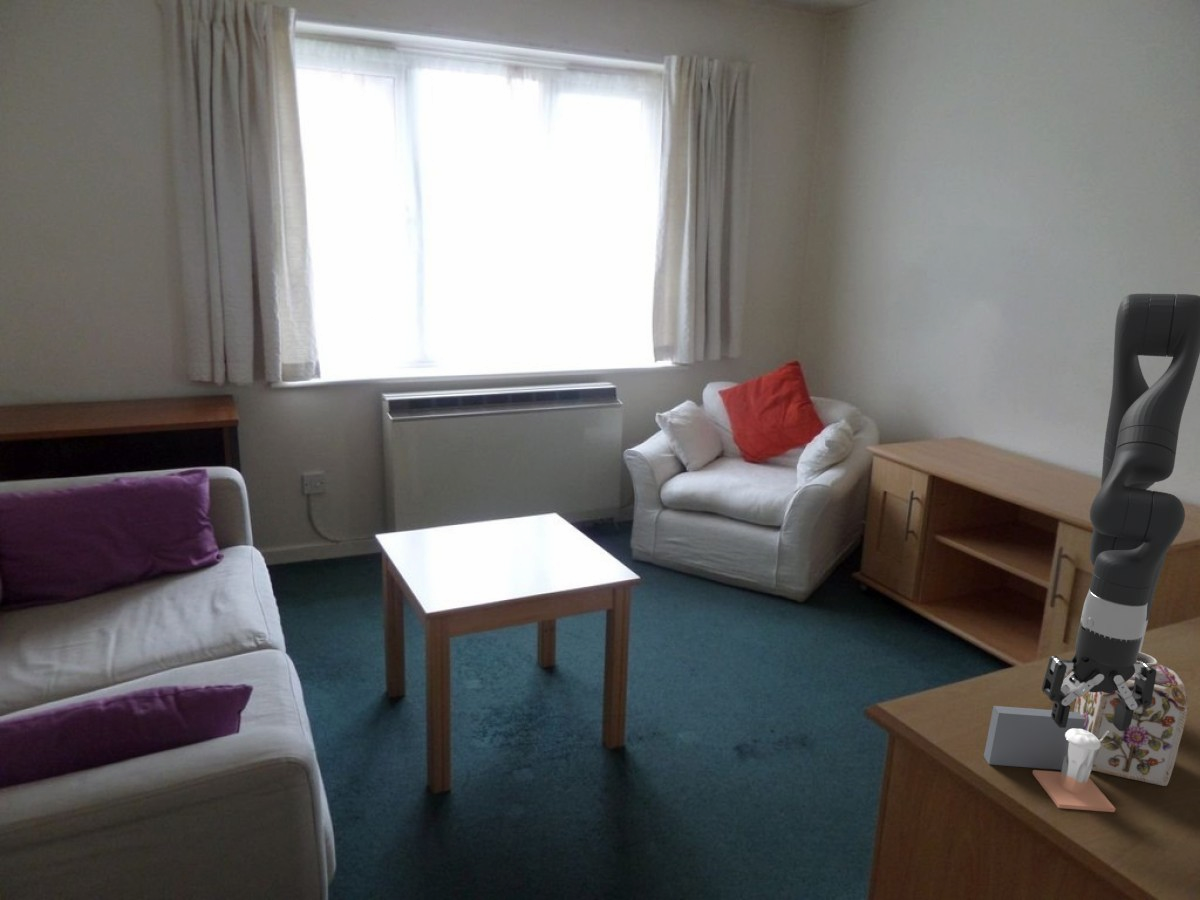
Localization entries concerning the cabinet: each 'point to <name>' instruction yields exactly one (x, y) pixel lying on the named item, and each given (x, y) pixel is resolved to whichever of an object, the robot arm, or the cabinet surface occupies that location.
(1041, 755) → the screen
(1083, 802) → the mat
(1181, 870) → the cabinet surface
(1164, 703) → the decorative jar
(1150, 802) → the cabinet surface
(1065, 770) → the milkshake
